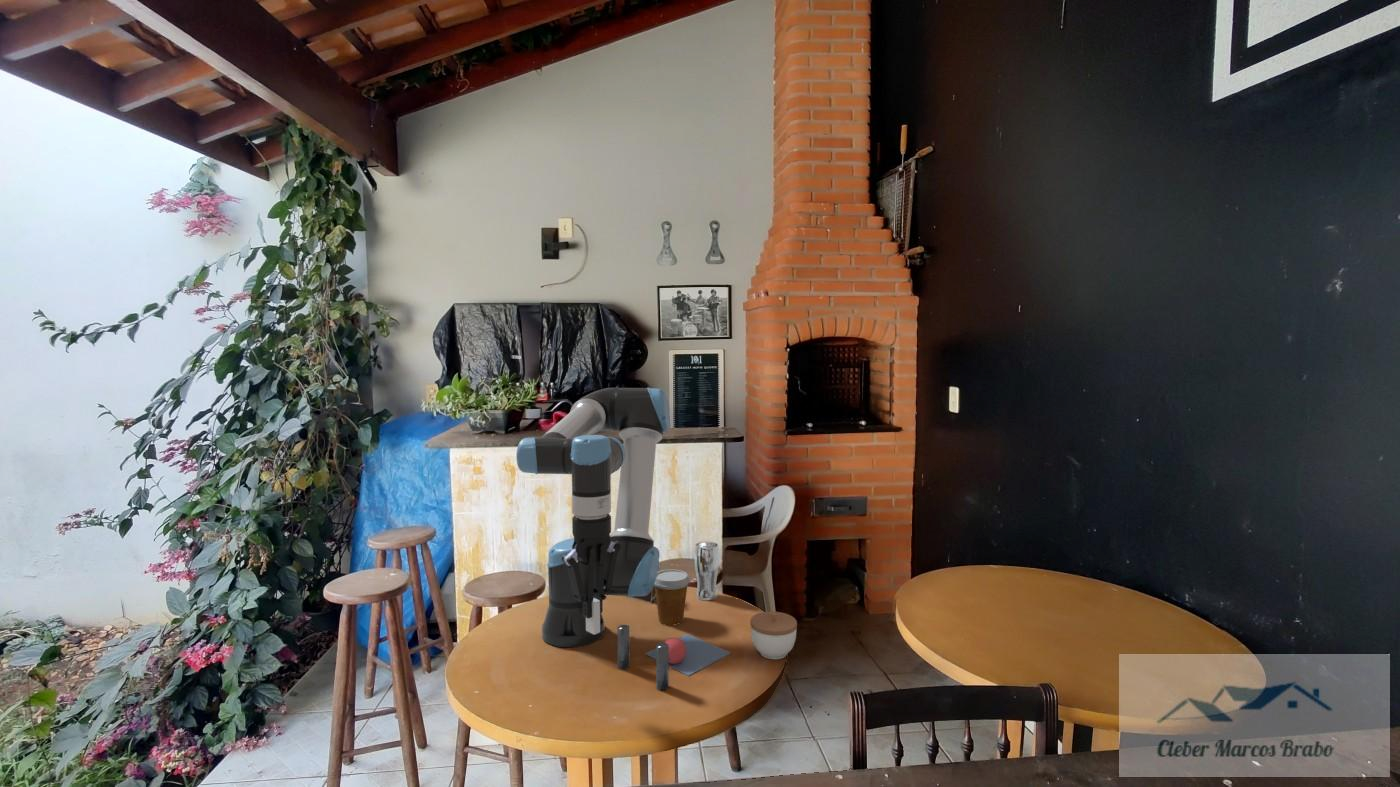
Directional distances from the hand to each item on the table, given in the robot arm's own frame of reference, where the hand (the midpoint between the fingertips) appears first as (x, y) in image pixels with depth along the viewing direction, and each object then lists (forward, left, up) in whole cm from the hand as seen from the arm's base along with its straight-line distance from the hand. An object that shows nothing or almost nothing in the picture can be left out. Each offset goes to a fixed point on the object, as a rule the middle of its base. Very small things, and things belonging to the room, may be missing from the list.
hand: (593, 631), depth 126 cm
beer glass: (-20, +55, -15) cm, 60 cm away
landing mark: (0, +27, -14) cm, 31 cm away
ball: (0, +22, -12) cm, 25 cm away
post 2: (+6, +13, -14) cm, 20 cm away
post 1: (-6, +13, -14) cm, 20 cm away
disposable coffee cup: (-16, +37, -15) cm, 43 cm away
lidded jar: (+14, +41, -15) cm, 46 cm away
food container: (-33, +43, -15) cm, 56 cm away
